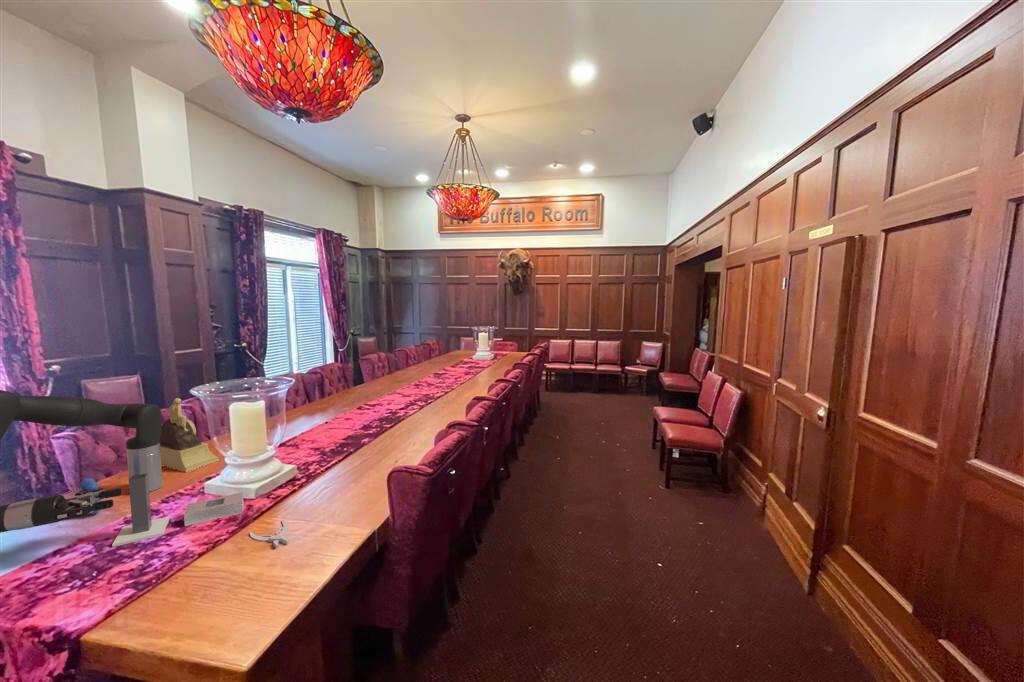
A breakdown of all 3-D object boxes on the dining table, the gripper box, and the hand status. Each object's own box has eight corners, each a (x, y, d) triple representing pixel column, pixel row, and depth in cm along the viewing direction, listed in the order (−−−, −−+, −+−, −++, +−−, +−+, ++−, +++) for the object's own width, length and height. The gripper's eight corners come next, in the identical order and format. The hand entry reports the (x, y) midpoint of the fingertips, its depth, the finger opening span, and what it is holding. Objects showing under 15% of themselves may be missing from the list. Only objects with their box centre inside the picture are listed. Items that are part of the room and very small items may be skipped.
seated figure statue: (218, 461, 174) (215, 397, 172) (186, 472, 163) (181, 403, 160) (181, 452, 185) (177, 391, 182) (148, 462, 173) (143, 397, 170)
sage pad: (123, 528, 121) (123, 526, 121) (169, 518, 127) (169, 516, 127) (112, 547, 112) (112, 544, 112) (162, 535, 118) (162, 532, 118)
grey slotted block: (188, 515, 129) (187, 503, 129) (243, 502, 137) (243, 492, 137) (184, 526, 122) (184, 514, 122) (242, 512, 131) (242, 501, 130)
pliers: (283, 517, 126) (300, 535, 116) (283, 521, 126) (300, 540, 116) (248, 529, 119) (263, 550, 109) (248, 534, 119) (263, 555, 109)
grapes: (66, 515, 129) (62, 480, 128) (94, 505, 135) (91, 472, 134) (81, 523, 124) (78, 487, 123) (110, 513, 130) (107, 479, 129)
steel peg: (136, 528, 120) (132, 475, 118) (151, 525, 122) (147, 473, 120) (132, 534, 117) (128, 480, 115) (148, 530, 119) (144, 477, 117)
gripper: (21, 510, 100) (109, 494, 109) (46, 489, 112) (123, 476, 121) (24, 538, 101) (111, 519, 110) (48, 513, 113) (125, 499, 122)
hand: (117, 497), depth 115 cm, fingers open, 8 cm apart
